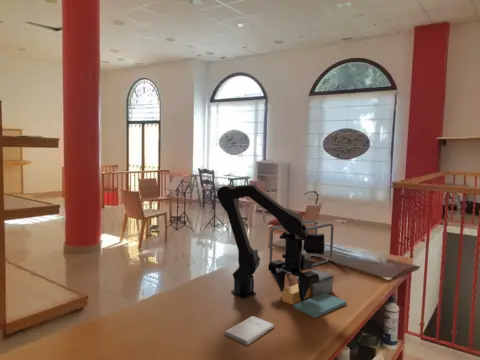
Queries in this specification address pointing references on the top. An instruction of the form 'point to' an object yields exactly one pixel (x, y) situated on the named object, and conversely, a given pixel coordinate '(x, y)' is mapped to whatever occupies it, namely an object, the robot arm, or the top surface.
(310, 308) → the mat
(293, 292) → the tan rectangular slab
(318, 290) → the dispenser
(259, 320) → the external hard drive
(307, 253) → the newton's cradle
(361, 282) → the top surface
